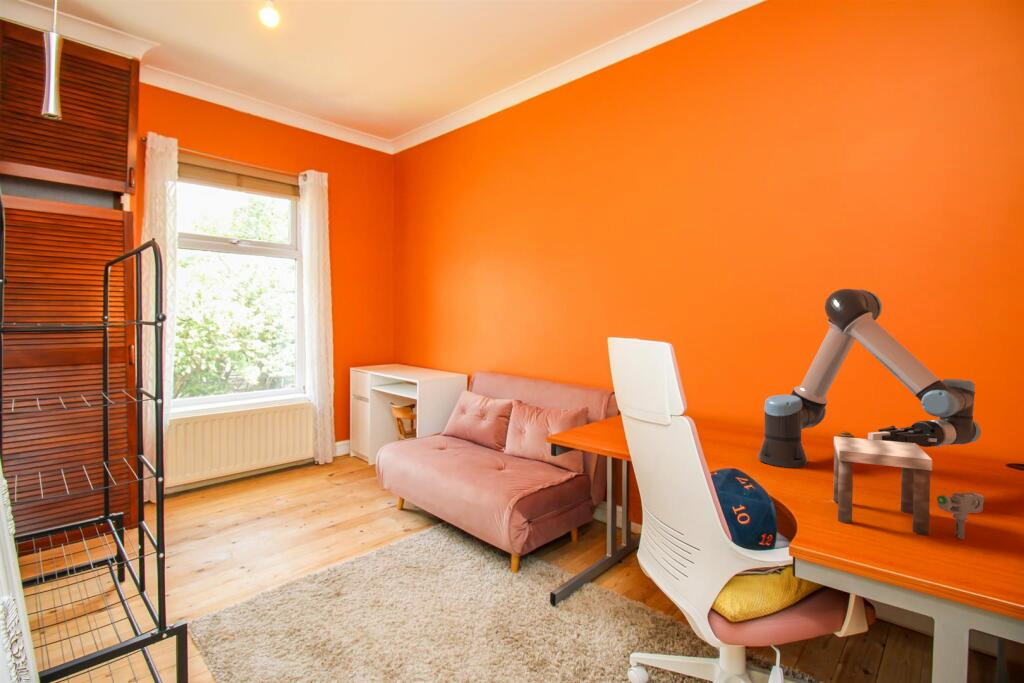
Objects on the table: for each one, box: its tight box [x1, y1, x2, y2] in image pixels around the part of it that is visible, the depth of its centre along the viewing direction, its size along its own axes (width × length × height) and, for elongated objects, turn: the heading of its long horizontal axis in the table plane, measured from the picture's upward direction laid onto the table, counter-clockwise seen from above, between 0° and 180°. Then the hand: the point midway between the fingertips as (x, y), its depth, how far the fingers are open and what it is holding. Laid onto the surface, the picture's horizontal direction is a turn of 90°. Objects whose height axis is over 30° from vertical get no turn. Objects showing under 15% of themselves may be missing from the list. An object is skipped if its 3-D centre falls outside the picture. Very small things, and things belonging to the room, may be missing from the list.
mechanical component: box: [936, 492, 985, 540], centre depth 115 cm, size 3×10×10 cm, turn 95°
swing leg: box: [832, 447, 839, 503], centre depth 137 cm, size 10×3×15 cm, turn 62°
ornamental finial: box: [833, 430, 856, 449], centre depth 192 cm, size 8×8×8 cm
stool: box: [833, 435, 933, 536], centre depth 128 cm, size 18×18×18 cm
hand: (870, 438), depth 141 cm, fingers closed
